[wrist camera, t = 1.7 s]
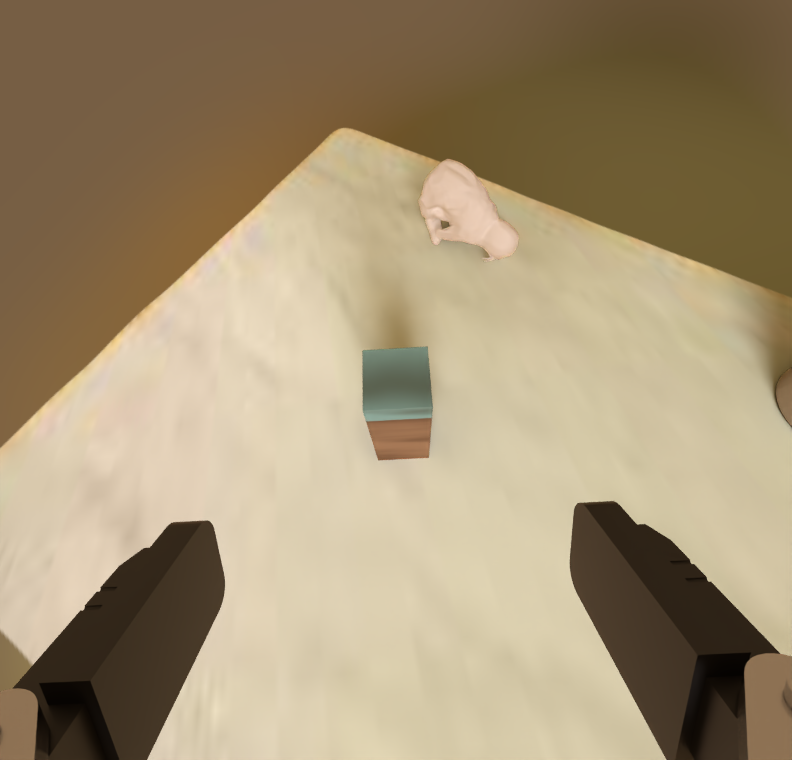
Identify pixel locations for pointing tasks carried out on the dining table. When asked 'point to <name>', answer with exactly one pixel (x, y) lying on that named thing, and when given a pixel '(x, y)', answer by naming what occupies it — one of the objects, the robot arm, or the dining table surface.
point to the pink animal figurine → (464, 211)
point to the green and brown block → (398, 401)
